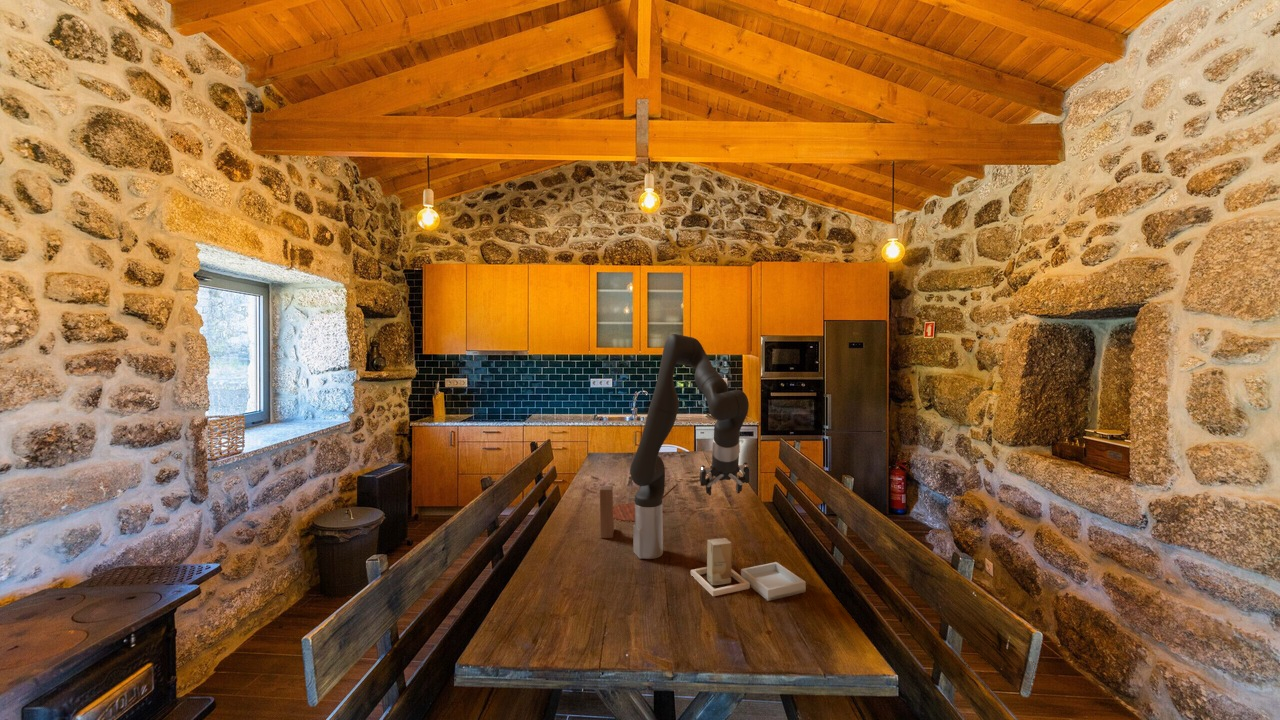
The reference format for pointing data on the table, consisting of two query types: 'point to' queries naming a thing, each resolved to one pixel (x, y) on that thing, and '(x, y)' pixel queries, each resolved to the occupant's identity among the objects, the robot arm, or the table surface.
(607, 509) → the wooden block
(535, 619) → the table surface
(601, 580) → the table surface
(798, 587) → the tray
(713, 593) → the holder
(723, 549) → the skincare box
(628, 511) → the incense holder
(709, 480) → the robot arm
